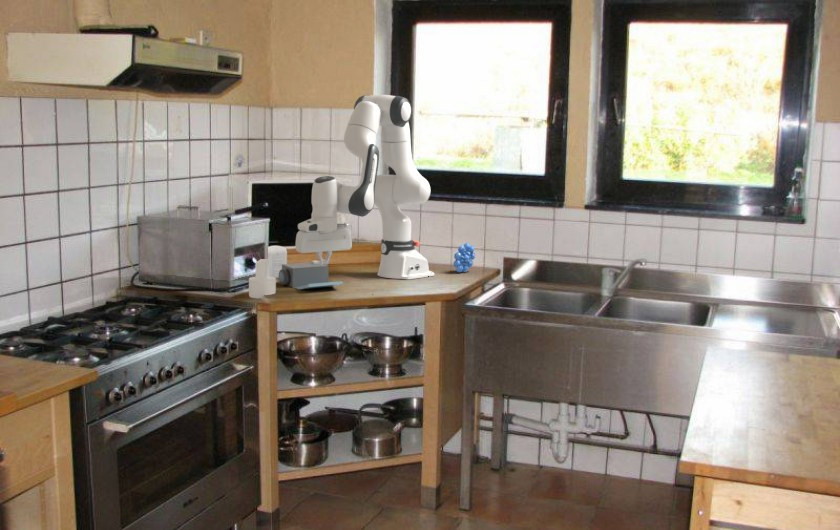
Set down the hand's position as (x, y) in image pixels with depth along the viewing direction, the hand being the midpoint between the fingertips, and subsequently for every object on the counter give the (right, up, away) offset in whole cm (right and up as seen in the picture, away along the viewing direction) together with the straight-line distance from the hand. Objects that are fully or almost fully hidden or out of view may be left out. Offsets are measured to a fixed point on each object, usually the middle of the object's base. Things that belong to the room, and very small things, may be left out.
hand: (324, 264), depth 319 cm
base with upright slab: (-20, -11, -4) cm, 24 cm away
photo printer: (-22, -6, +28) cm, 36 cm away
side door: (-5, -8, +9) cm, 13 cm away
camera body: (-9, -8, +13) cm, 18 cm away
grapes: (+50, -3, +54) cm, 73 cm away
